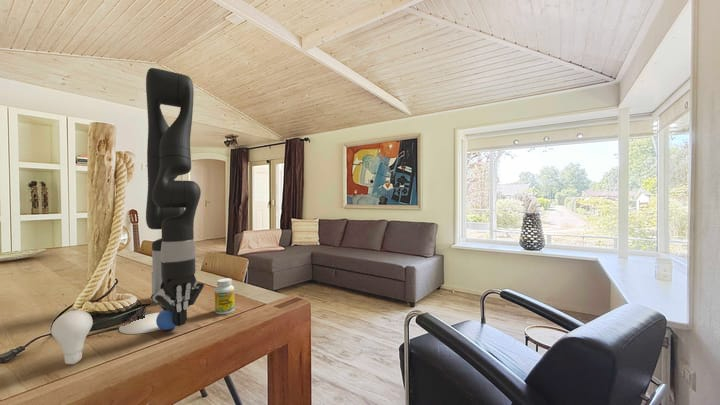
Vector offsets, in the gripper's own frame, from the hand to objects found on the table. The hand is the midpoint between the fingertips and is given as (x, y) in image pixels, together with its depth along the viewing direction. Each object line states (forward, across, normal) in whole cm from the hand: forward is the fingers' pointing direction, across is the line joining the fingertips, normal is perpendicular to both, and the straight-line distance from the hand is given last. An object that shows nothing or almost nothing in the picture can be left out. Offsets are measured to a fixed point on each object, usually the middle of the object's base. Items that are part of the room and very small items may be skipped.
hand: (179, 324), depth 75 cm
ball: (-1, 0, -4) cm, 4 cm away
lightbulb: (+2, +19, -6) cm, 20 cm away
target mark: (+2, 0, -13) cm, 13 cm away
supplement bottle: (+2, -14, -1) cm, 14 cm away
